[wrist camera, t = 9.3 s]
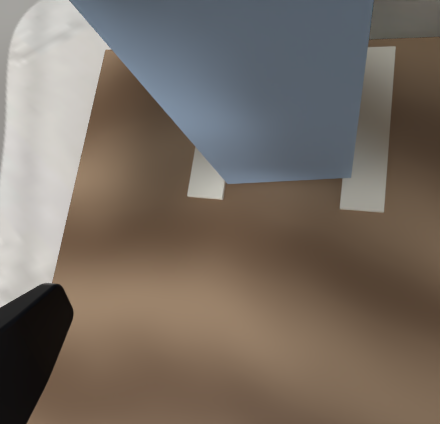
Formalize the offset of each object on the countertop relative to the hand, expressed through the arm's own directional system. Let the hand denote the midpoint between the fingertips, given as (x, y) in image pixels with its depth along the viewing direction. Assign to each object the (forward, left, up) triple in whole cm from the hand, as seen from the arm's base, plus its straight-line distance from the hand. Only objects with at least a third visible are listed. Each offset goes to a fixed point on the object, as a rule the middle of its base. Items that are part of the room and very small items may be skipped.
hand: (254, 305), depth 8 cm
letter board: (+2, +1, -9) cm, 9 cm away
